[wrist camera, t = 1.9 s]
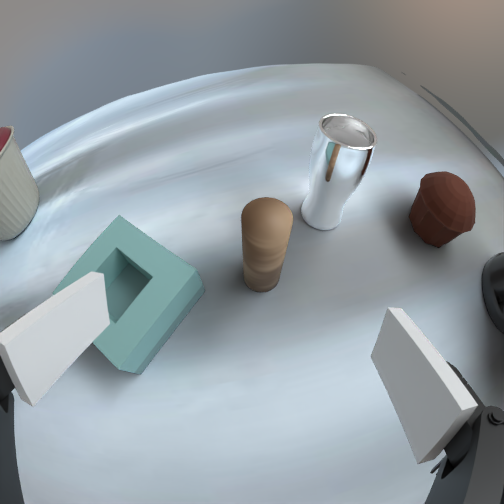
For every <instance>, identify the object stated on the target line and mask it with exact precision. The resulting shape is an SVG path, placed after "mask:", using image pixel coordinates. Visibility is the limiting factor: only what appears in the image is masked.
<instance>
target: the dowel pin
mask: <svg viewBox="0 0 504 504" xmlns="http://www.w3.org/2000/svg"><path fill="white" fill-rule="evenodd" d="M241 223H242V250H243V274H244V281H245V283H246V285H247V286H248V287H249V288H250V289H252V290H254V291H257V292H267V291H270V290H272V289H273V288H274V287H275V286H276V285H277V283H278V281H279V277H280V273H281V269H282V265H283V261H284V257H285V253H286V249H287V245H288V241H289V237H290V232H291V228H292V224H293V215H292V212H291V210H290V208H289V207H288V206H287V205H286V204H285V203H283V202H282V201H280V200H277V199H274V198H268V197H264V198H258V199H255V200H253V201H251V202H249V203H248V204H247V205H246V206H245V208H244V209H243V211H242V215H241Z"/></svg>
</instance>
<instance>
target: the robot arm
mask: <svg viewBox="0 0 504 504" xmlns="http://www.w3.org/2000/svg"><path fill="white" fill-rule="evenodd" d="M482 286H483V294H484V299H485V303H486V306H487V309H488V312H489V314H490V316H491V318H492V320H493V322H494V324H495V325H496V326H497V328H498V329H499V330H500V331H501V332H503V333H504V252H502V253H498V254H496V255H495V256H494V257H492V258H491V259H490V260H489V261H488V262H487V263H486V265H485V267H484V270H483V277H482ZM109 324H110V320H109V314H108V307H107V299H106V291H105V281H104V274H103V273H97V272H92V271H91V272H90V273H88V274H87V275H85V276H83V277H82V278H80V279H78V280H77V281H75V282H74V283H72V284H71V285H69V286H67V287H66V288H64V289H63V290H61V291H60V292H58V293H57V294H55V295H54V296H52V297H51V298H49V299H48V300H46V301H45V302H43V303H42V304H40V305H39V306H37V307H36V308H34V309H33V310H31V311H30V312H29V313H27V314H25V315H23V316H22V317H21V318H19V319H18V320H17V321H15V322H14V323H12V325H9V326H8V327H7V328H5V329H4V330H3V331H1V332H0V504H24V500H23V495H22V490H21V485H20V480H19V474H18V467H17V459H16V449H15V436H14V396H13V394H12V392H11V391H12V390H13V389H14V388H15V389H16V390H17V392H18V394H19V396H20V398H21V399H22V400H23V401H25V402H26V403H28V404H29V405H31V406H32V407H34V406H35V405H36V404H37V403H38V402H39V400H40V399H41V398H42V397H43V396H44V395H45V393H46V392H47V391H48V390H49V389H50V388H51V387H52V385H53V384H54V383H55V382H56V381H57V380H58V379H59V378H60V376H61V375H62V374H63V373H64V372H65V371H66V370H67V369H68V368H69V367H70V365H71V364H72V363H73V362H74V361H75V360H76V359H77V358H78V357H79V356H80V355H81V354H82V352H83V351H84V350H85V349H86V348H87V347H88V346H89V345H90V344H91V343H92V342H93V341H94V340H95V339H96V338H97V337H98V336H99V335H100V334H101V333H102V332H103V331H104V329H105V328H106V327H107V326H108V325H109ZM371 358H372V361H373V363H374V365H375V367H376V369H377V371H378V373H379V375H380V377H381V379H382V381H383V384H384V386H385V388H386V390H387V392H388V394H389V397H390V399H391V401H392V403H393V406H394V408H395V410H396V412H397V415H398V417H399V419H400V422H401V424H402V426H403V429H404V431H405V433H406V436H407V438H408V441H409V443H410V446H411V448H412V451H413V453H414V456H415V458H416V461H417V464H420V463H423V462H427V461H430V460H433V459H435V458H436V457H437V456H438V455H439V454H440V453H441V451H442V450H443V449H444V450H445V452H446V454H447V455H446V456H445V457H444V458H443V459H442V460H441V461H440V462H439V463H438V464H437V465H436V466H435V467H434V468H433V469H432V471H431V472H430V473H434V472H435V471H436V470H437V469H438V468H439V470H438V473H437V474H436V478H435V480H434V483H433V485H432V488H431V490H430V493H429V495H428V497H427V499H426V502H425V504H504V411H502V410H501V409H500V408H498V407H495V406H488V407H485V406H484V405H483V403H482V402H481V400H480V399H479V398H478V396H477V395H476V393H475V392H474V391H473V389H472V388H471V387H470V385H469V384H468V385H467V381H466V380H465V379H464V378H462V375H461V374H460V372H459V371H458V370H457V368H455V367H454V366H453V365H451V364H450V363H449V362H447V361H445V360H444V358H443V357H442V356H441V355H440V353H439V352H438V351H437V350H436V348H435V347H434V346H433V345H432V344H431V342H430V341H429V340H428V339H427V337H426V336H425V335H424V334H423V333H422V331H421V330H420V329H419V328H418V327H417V326H416V324H415V323H414V322H413V321H412V320H411V319H410V317H409V316H408V315H407V314H406V313H405V312H404V311H403V309H402V308H387V311H386V314H385V317H384V320H383V324H382V327H381V329H380V332H379V335H378V338H377V341H376V344H375V346H374V349H373V352H372V354H371Z"/></svg>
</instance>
